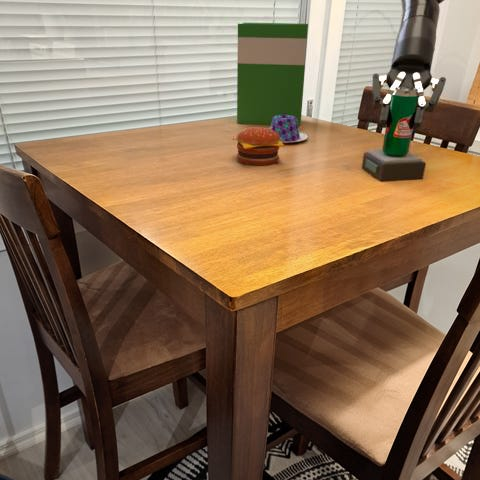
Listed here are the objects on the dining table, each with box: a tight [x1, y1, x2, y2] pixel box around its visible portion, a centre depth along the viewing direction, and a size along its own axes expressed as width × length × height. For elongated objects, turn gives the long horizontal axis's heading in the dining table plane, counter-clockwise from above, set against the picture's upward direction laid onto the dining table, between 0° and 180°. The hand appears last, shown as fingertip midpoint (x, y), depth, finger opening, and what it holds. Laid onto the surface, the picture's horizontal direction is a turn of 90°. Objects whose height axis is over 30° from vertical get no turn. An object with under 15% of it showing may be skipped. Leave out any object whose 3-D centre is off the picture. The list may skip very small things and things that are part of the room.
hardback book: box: [236, 21, 309, 127], centre depth 134 cm, size 18×7×24 cm, turn 82°
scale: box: [361, 149, 427, 182], centre depth 100 cm, size 9×9×4 cm
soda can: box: [381, 87, 419, 157], centre depth 95 cm, size 5×5×12 cm
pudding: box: [269, 115, 309, 144], centre depth 122 cm, size 12×12×5 cm
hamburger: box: [232, 126, 285, 166], centre depth 106 cm, size 9×10×7 cm
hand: (399, 126), depth 94 cm, fingers closed on soda can, 5 cm apart
